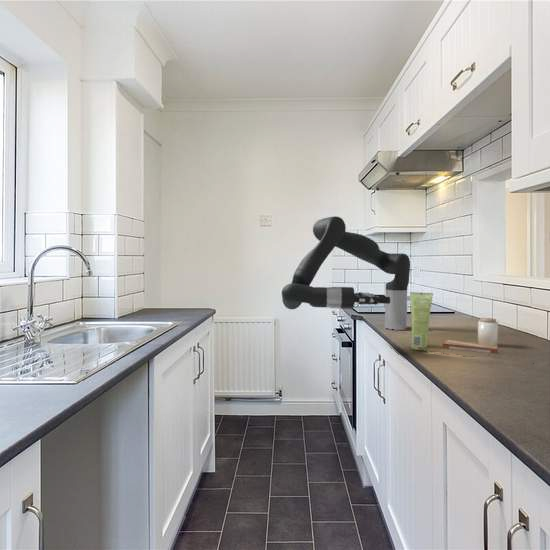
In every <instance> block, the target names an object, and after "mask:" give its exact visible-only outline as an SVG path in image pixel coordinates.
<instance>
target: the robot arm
mask: <svg viewBox="0 0 550 550" xmlns="http://www.w3.org/2000/svg"><path fill="white" fill-rule="evenodd" d="M346 229H347V227H346V223H345V221H344V220H343V218H342V217H340V216H336V215H335V216H330V217H329V216H328V217H324V218H321V219H319V220H316V221H315V223H314V224H313V227H312V232H313V233H312V234H313V235H314V236H315V238H316V240H318V241H319V242H318V243H317V244H316V245H315V246H314V247H313V249H312V250H310V251H309V252H308V253H307V254H306V255H305V256H304V257H303V259H302V260H301V261H300V263H299V264H298V266H297V267H296V269H295V271H294V272H293V275H292V281H291V282H290V283H288V284H286V285H285V286H283V288H282V290H281V297H282V298H281V299H282V300H281V301H282V303H283V305H284V306H285V308H286V309H288V310H296V309H298V308H299V307H300V306H301V305H302V303H304V304H309V305H310V306H311V307H312V308H329V309H337V310H338V309H340V310H341V309H343V310H353V309H354V307H355V303H358V304H359V305H363V306H364V305H369V306H370V305H374V306H375V305H378V304H384V305H385V306H384V328H385V329H387V328H388V330H392V329H394V330H395V331H404V330H407V327H408V326H407V325H408V324H407V322H408V320H407V319H408V288H409V287H408V286H409V283H410V273H411V261H410V257H409V255H408V254H406V253H389V252H385V251H383V250H381V249H380V246H379V244H378V243H377V242H376V241H375V240H374V239H371V238H370V237H368V236H365V235H363V234H359V233H355V232H351V231H350V232H349V231H346ZM335 247H336V248H338V249H340V250H342V251H343V252H346V253H347V254H350V255H352V256H354V257H355V258H358V259H360V260H362V261H364V262H366V263H369V264H371V265H373V266H375V267H377V268H378V269H380V270H381V271H382V272H384V273H386V274H388V275H394V278H393V279H392V280H390V281H388V282H386V284H385V291H384V292H385V294H374V293H370V292H363V291H359V292H358V293H357V292H355V288H354V287H353V286H328V287H326V286H323V287H322V286H321V287H320V286H319V287H317V286H310V285H311V284H312V282H313V280H314V279H315V277H316V275H317V273H318V272H319V270H320V268H321V266H322V264H323V263H324V262H325V260H326V259H327V258H328V256H329V255H331V253H332V251H334V249H335ZM394 330H393V331H394Z"/></svg>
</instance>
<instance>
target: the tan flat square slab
mask: <svg viewBox="0 0 550 550" xmlns="http://www.w3.org/2000/svg"><path fill="white" fill-rule="evenodd" d="M442 348H445V349H451V350H462V351H471V352H480V353H488V354H498V353H499V349H498V348H499V347H498V345H497V346H494V347H491V346H482V345H479V344H478V341H477V342H476V341H465V340H455V339H447V340H446V341H445V343H442Z"/></svg>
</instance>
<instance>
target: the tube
mask: <svg viewBox="0 0 550 550" xmlns="http://www.w3.org/2000/svg"><path fill="white" fill-rule="evenodd" d="M433 296H434V293H433V292H417V291H415V292H414V291H409V298H410V299H409V300H410V313H411V349H413V350H415V351H417V350H418V351H420V349H419V348H427V347H428V338H429V327H430V316H431V307H432V302H433V301H432V300H433Z"/></svg>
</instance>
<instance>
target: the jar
mask: <svg viewBox="0 0 550 550" xmlns="http://www.w3.org/2000/svg"><path fill="white" fill-rule="evenodd" d="M498 335H499V322H498V321H497V318H493V317H492V318H491V317H480V320H478V324H477V342H478V344H479V345H482V346H491V347H494V346H497V347H498V339H499V338H498V337H499V336H498Z"/></svg>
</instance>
